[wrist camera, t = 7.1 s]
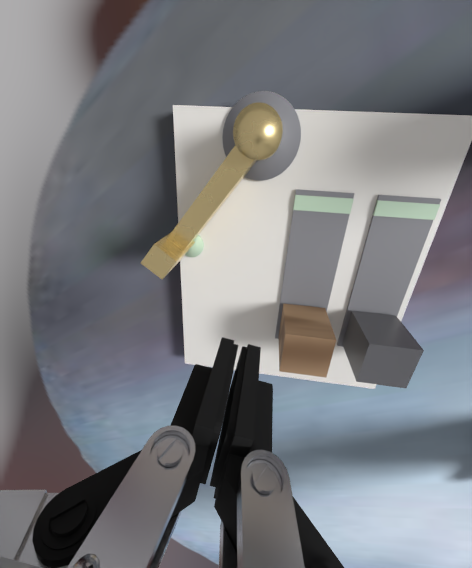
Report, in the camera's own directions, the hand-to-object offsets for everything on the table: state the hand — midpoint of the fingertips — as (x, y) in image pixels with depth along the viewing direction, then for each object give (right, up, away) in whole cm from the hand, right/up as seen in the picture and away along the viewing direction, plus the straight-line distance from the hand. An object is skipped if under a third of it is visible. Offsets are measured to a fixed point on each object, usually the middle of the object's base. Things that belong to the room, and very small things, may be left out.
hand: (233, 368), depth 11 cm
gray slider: (+13, -1, +14) cm, 19 cm away
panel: (+6, +5, +15) cm, 17 cm away
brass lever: (-1, +11, +11) cm, 16 cm away
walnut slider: (+7, 0, +15) cm, 16 cm away
